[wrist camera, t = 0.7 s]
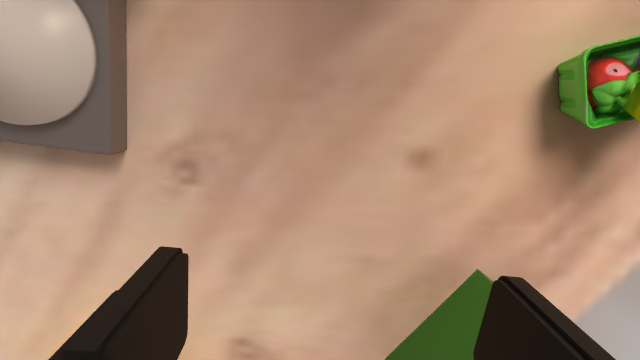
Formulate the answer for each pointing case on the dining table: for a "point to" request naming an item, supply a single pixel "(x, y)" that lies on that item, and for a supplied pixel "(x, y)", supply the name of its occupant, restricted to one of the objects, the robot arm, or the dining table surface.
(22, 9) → the scale
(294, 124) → the dining table surface
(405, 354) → the hardback book
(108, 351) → the robot arm
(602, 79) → the fruit basket
